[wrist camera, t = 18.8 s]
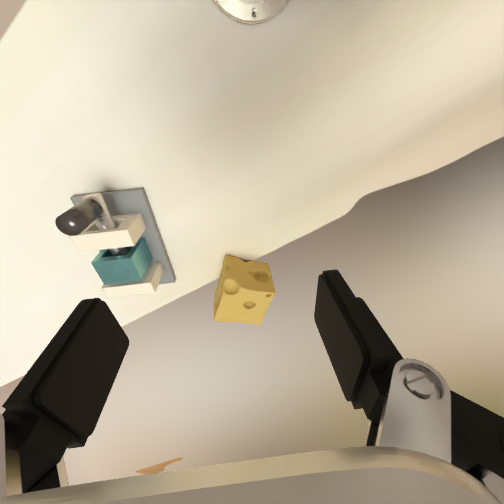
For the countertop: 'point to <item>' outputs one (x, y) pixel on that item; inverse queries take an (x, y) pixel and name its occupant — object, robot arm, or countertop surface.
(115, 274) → the frame
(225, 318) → the cheese
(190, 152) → the countertop surface
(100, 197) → the shaft
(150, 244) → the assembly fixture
